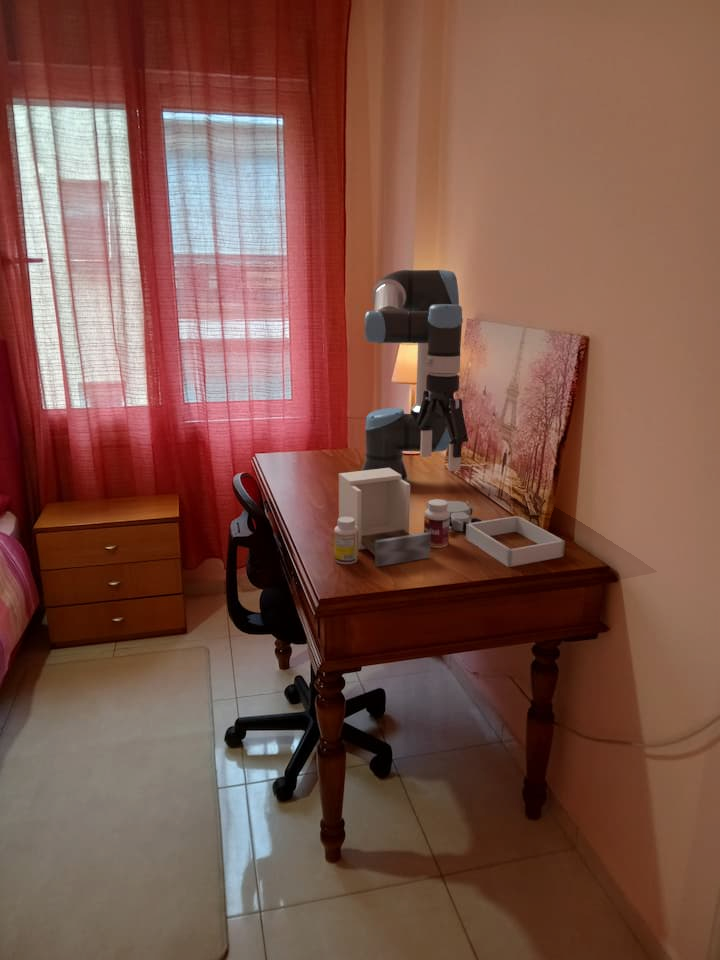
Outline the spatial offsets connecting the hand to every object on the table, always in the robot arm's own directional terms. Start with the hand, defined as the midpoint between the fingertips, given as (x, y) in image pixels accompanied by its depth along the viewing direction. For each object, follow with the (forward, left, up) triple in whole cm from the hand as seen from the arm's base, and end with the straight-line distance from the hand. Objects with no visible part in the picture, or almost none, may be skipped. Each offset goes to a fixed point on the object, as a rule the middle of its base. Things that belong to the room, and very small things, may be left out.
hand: (439, 463), depth 163 cm
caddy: (+12, -10, -21) cm, 26 cm away
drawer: (+12, +1, -21) cm, 24 cm away
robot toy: (-12, -10, -21) cm, 26 cm away
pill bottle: (0, 0, -21) cm, 21 cm away
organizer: (-17, +9, -21) cm, 28 cm away
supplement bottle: (+24, 0, -21) cm, 32 cm away
